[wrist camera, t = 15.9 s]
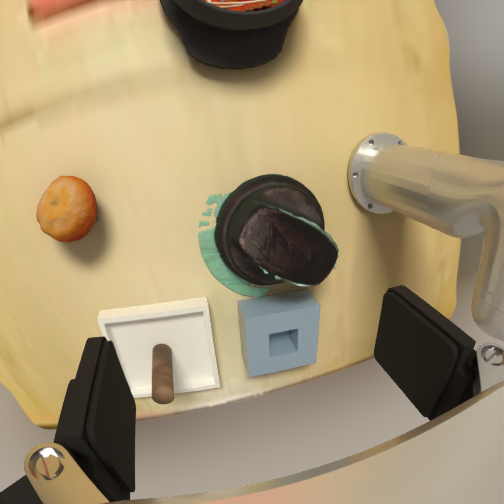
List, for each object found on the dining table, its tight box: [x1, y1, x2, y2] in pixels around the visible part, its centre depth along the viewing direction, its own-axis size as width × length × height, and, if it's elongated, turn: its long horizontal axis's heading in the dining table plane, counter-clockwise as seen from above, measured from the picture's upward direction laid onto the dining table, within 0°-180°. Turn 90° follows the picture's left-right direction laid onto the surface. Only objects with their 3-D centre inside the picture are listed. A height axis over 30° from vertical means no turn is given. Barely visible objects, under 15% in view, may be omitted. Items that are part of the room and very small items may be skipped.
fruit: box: [36, 176, 98, 242], centre depth 35 cm, size 8×8×8 cm
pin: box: [152, 344, 174, 404], centre depth 42 cm, size 3×3×10 cm
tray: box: [97, 297, 220, 398], centre depth 46 cm, size 16×16×2 cm
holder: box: [238, 290, 320, 377], centre depth 49 cm, size 11×11×5 cm
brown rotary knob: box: [199, 174, 339, 297], centre depth 41 cm, size 20×20×9 cm
